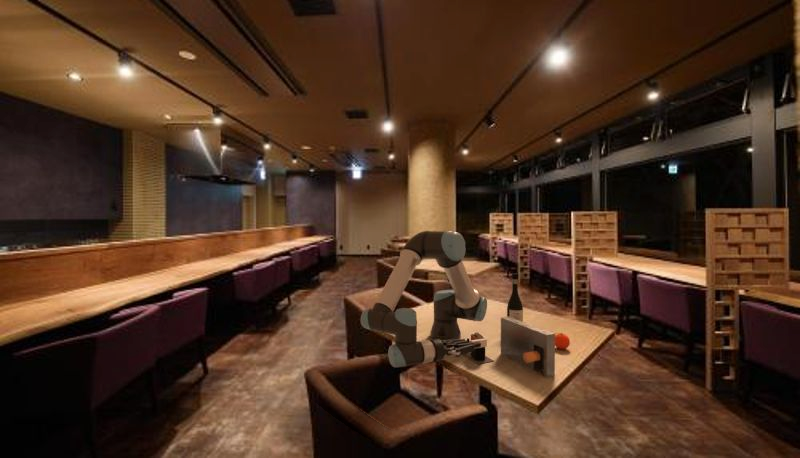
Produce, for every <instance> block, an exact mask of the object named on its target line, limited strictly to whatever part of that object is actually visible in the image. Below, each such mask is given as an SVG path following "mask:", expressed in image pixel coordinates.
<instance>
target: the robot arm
mask: <svg viewBox="0 0 800 458" xmlns="http://www.w3.org/2000/svg"><path fill="white" fill-rule="evenodd" d="M466 249H467V248H466V240H465V239H464V237H463V235H462V234H461V233H459V232H457V231H451V230H446V231H442V230H441V231H438V230H434V231H433V230H432V231H431V230H430V231H429V230H423V231H421V232H418V233H416V234H415V235H413V236H411V238H410V239H409V240H408V241H407V242H406V243H404V245H403V247H402V249H401V251H400V252H399V259H398V261H397V263H395V264H396V265H395V266H394V268H393V270H392V271H391V274H390V276H389V277H388V279H387V281H386V282H385V285H384V286H383V288H382V290H381V292H380V294H379V295H378V298H377V299H376V301H375V303H374V304H373V306H372V308H371V307H370V308H366V309H364V310H363V311H362V313H361V315H360V324H361V326H362V327H363V328H364V329H366V330H368V331H369V330H370V331H371V332H372V331H373V332H374V331H375V332H379V333H385V334H388V335H393V336H395V337H394V342H395V343H393V344H391V345H390V346H389V347H388V351H387V357H388V361H389V363H390V365H391V366H392V367H393V368H402V367H403V368H404V367H405V368H406V367H409V366H414V365H420V364H422V365H425V364H427V363H432V362H439V361H442V360H444V358H445V357H446V356H452V355H455V357H456V358H459V357H461V356H463V355H464V354H469V353H471V352H474V351H475V348H481V347H485V348H486V347H488V341H487V340H488V339H486V338H485V337H484V339H477V340H471V339H470V338H468V337H467V338H461V337H462V334H461V330H460V327H459V323H458V319H460V320H466V321H472V322H483V321H484V319H485V316H486V313H487V308H488V300H487V298H486V297H485V296H480V293H479V292H478V290H476V289H475V288H474V286H473V284H472V282H471V280H470V277H469V274H468V272H467V269H466V267H465V264H464V261H463V259H464V257H465V255H466V251H467V250H466ZM424 259H429V260H436V262H437V265H438V266H439V267H440V268H442V269H443V270H444V272H445V274H446V277H447V279H448V281H449V284H450V286H451V288H452V289H443V290H439V291H436V292H434V294H433V322H432V326H431V329H430V332H429V335H430V336H429V337H430V338H432V339H426V340H418V339H417V336H418V335H417V334H418V333H417V331H418V327H417V326H418V319H417V318H418V317H417V312H416V310H415V309H414V308H409V307H408V308H407V307H401V308H398V309H396V310H395V308H396V307H397V304H398V302H399V300H400V299H401V296H402V294H403V293H404V291H405V288H406V287H407V285H408V283H409V281H410V279H411V277H412V276H413V273H414V272H415V270H416V267H417V266H419V265H421V263H422V261H423V260H424ZM417 340H418V341H417Z"/></svg>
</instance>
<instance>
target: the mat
mask: <svg viewBox="0 0 800 458" xmlns="http://www.w3.org/2000/svg"><path fill="white" fill-rule="evenodd" d="M462 356H463V357H465V358H467V359H468V360H470V361H472V362H473V363H475V364H476V365H478V366H479V365H482V364H483V365H485V364H488V363H492V362H494V359H492V358H490V357H488V356H486V355H485V360H478V361H476V360H475V359H474V358H473V357H472V355H471V352H470V353H467V354H464V355H462Z"/></svg>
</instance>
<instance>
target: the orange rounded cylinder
mask: <svg viewBox="0 0 800 458" xmlns="http://www.w3.org/2000/svg"><path fill="white" fill-rule="evenodd" d="M523 359H524V361H525V362H526V363H530V362H534V361H539V360H540V354H539V353H538V352H537V351H532V352H527V353H524V354H523Z"/></svg>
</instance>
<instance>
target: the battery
mask: <svg viewBox="0 0 800 458" xmlns="http://www.w3.org/2000/svg"><path fill="white" fill-rule="evenodd" d="M484 338H485V337H484V336H483V335H482V334H481V333H479V332H477V331H476V332H474V333H472V334H470V340H477V339H484ZM470 353H471V355H472V357H473V358H474V359H475V360H476V361H478V360H485V356H486V347H481V348H475V351H474V352H470Z"/></svg>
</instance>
